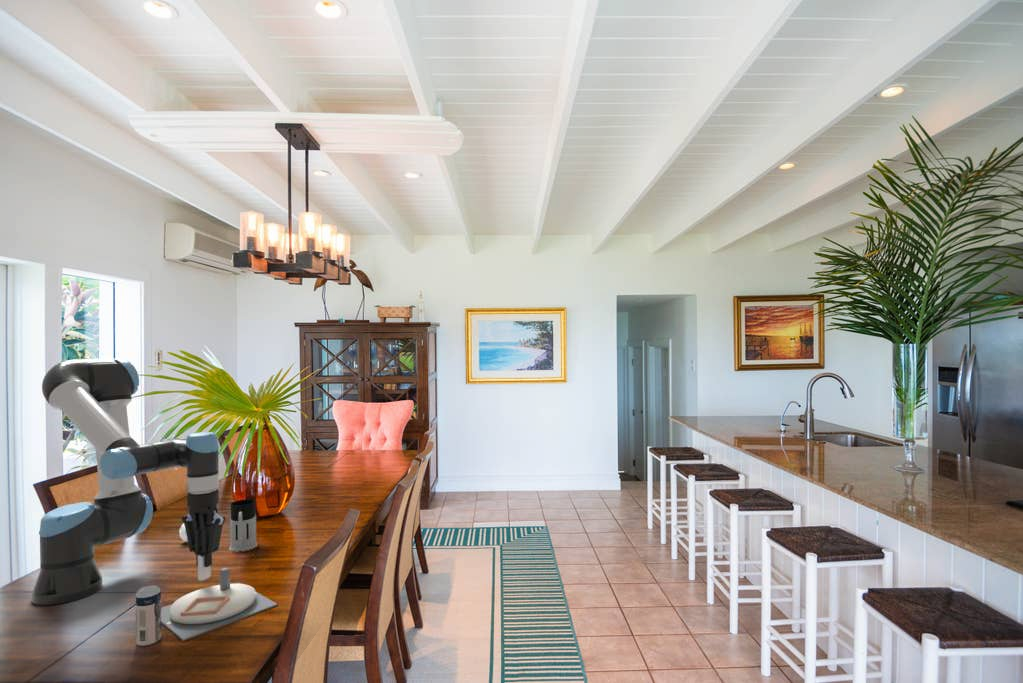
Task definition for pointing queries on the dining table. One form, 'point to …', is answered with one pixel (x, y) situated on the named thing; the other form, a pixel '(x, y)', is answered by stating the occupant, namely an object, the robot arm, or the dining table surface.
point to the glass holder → (243, 525)
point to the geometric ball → (183, 533)
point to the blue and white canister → (148, 615)
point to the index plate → (197, 629)
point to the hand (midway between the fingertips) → (204, 578)
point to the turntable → (213, 602)
